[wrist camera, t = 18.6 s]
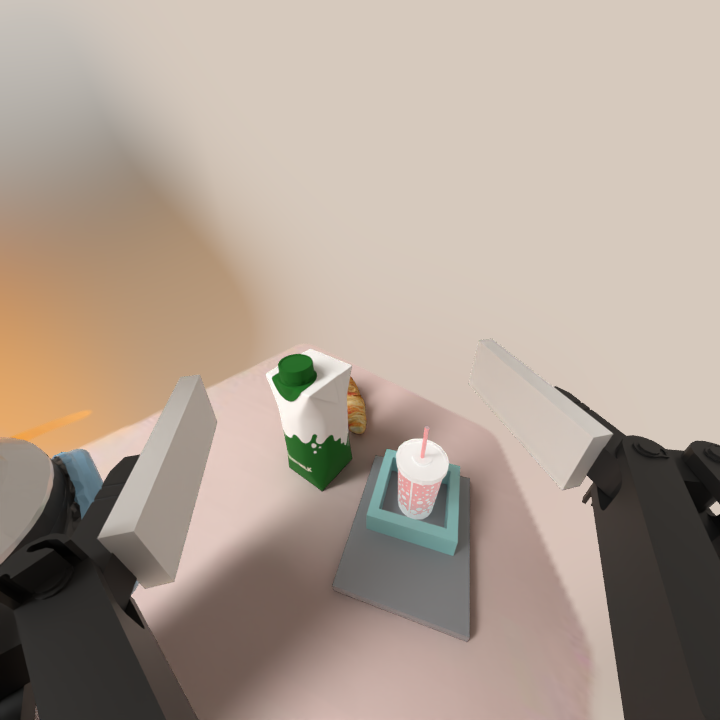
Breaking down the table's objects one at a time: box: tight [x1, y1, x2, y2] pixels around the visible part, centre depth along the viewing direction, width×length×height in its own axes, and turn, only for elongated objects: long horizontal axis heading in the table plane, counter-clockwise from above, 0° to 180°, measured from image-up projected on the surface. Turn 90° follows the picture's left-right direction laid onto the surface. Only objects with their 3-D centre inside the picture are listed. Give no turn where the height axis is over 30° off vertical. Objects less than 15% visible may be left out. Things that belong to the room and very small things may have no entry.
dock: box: [332, 449, 470, 642], centre depth 36 cm, size 18×14×4 cm
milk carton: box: [266, 349, 352, 491], centre depth 41 cm, size 9×9×20 cm
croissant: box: [347, 377, 367, 434], centre depth 57 cm, size 21×10×8 cm, turn 33°
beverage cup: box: [396, 426, 449, 519], centre depth 35 cm, size 6×6×14 cm
